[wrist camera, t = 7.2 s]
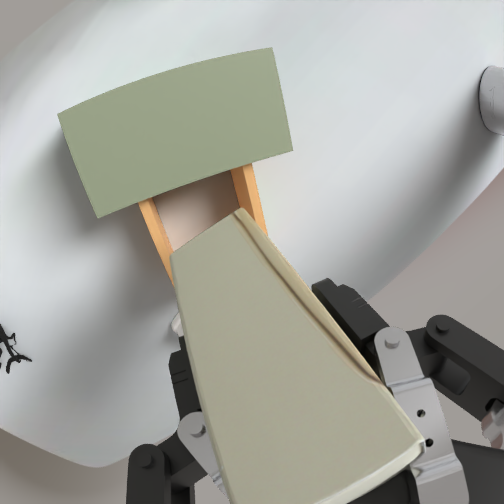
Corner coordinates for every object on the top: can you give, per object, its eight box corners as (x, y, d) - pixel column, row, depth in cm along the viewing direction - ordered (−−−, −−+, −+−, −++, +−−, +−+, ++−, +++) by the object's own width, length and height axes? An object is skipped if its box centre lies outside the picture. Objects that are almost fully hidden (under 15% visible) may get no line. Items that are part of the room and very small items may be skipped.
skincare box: (292, 287, 18) (428, 467, 8) (227, 330, 18) (322, 529, 8) (239, 200, 14) (438, 435, 4) (159, 255, 14) (238, 542, 4)
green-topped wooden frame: (244, 55, 19) (272, 47, 15) (283, 235, 27) (310, 265, 23) (75, 109, 17) (57, 114, 13) (148, 285, 25) (153, 325, 21)
